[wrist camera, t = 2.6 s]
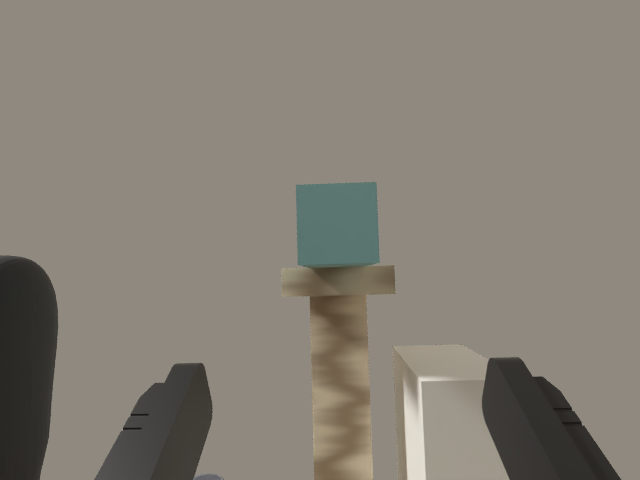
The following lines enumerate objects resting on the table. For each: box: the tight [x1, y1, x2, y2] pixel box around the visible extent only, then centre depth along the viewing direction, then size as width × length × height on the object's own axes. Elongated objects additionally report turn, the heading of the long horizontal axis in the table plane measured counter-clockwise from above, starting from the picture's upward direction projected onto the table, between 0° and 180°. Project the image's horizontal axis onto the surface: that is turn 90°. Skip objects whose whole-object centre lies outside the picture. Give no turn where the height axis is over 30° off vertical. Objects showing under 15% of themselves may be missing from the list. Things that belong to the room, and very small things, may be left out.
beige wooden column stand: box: [281, 265, 395, 480], centre depth 35 cm, size 8×15×32 cm, turn 178°
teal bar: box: [296, 182, 380, 268], centre depth 33 cm, size 4×26×4 cm, turn 178°
